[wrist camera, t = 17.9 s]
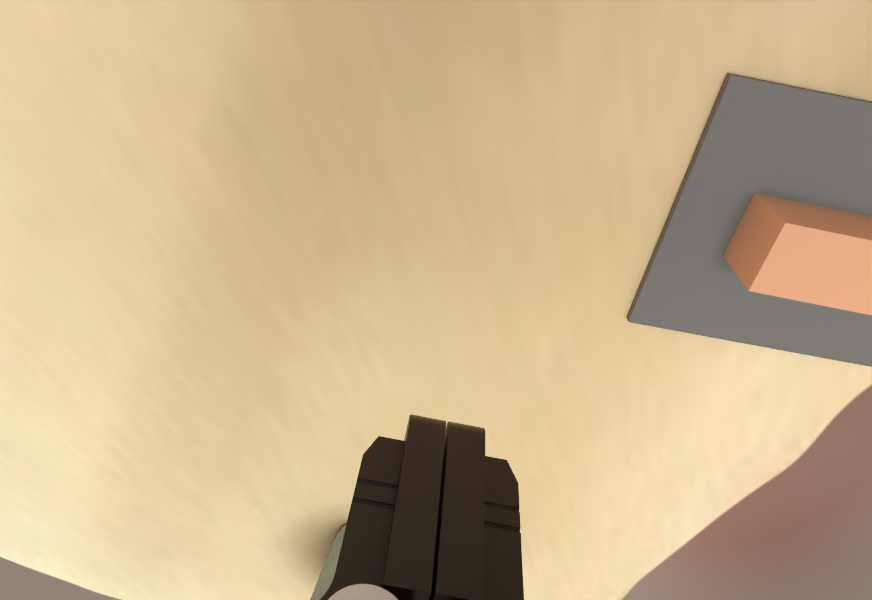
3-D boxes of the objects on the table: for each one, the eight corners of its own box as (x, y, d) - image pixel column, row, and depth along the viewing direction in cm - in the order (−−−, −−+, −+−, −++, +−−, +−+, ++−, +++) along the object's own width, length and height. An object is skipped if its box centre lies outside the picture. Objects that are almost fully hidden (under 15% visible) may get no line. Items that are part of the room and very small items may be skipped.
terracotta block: (785, 223, 33) (989, 264, 34) (754, 192, 37) (938, 230, 38) (748, 290, 36) (939, 329, 36) (723, 256, 40) (896, 290, 40)
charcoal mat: (727, 73, 34) (731, 75, 34) (1027, 133, 35) (1035, 136, 34) (626, 317, 43) (628, 321, 43) (867, 361, 44) (871, 366, 43)
